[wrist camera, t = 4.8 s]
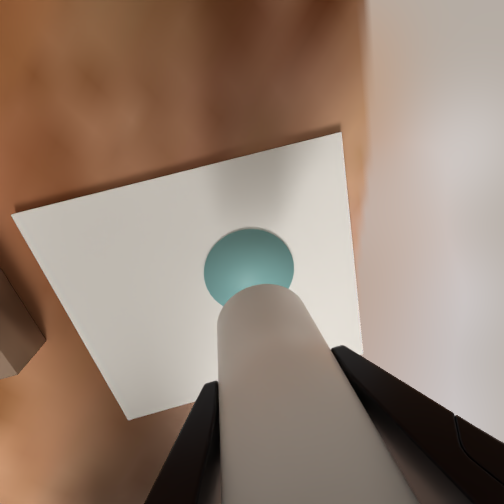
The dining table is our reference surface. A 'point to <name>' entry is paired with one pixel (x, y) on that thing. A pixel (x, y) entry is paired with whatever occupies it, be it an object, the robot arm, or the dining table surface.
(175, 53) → the dining table surface
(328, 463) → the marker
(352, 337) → the paper
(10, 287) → the button housing
